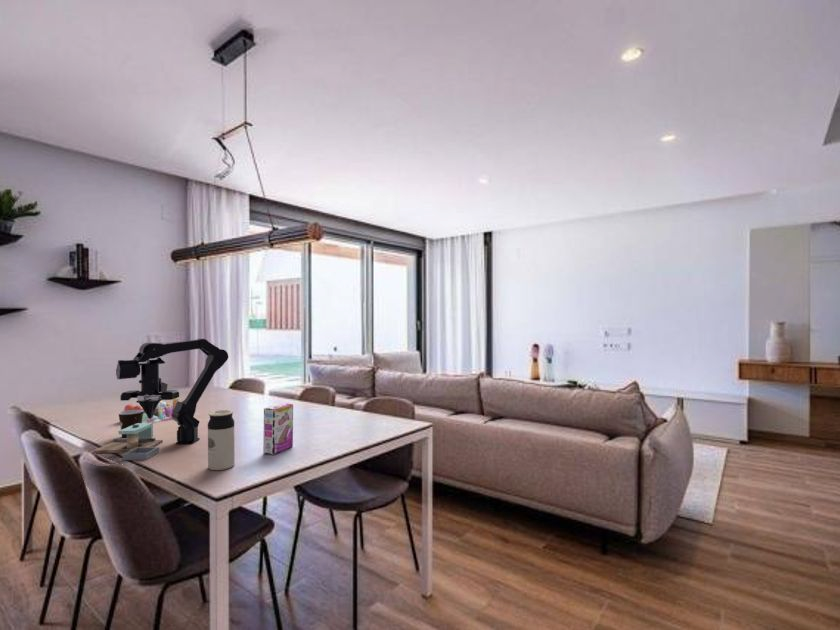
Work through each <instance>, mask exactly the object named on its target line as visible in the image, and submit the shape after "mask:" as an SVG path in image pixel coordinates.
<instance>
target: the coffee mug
mask: <svg viewBox="0 0 840 630" xmlns="http://www.w3.org/2000/svg"><path fill="white" fill-rule="evenodd" d="M122 411H123V412H122ZM122 411H120V412H118V418H119V419H118V420H119V424H120V430H122V429H125V428H127V427H129V426H132V425H134V424H137V423H142V418H143V410H129V411H124V410H122ZM121 438H127V434H121Z"/></svg>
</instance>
